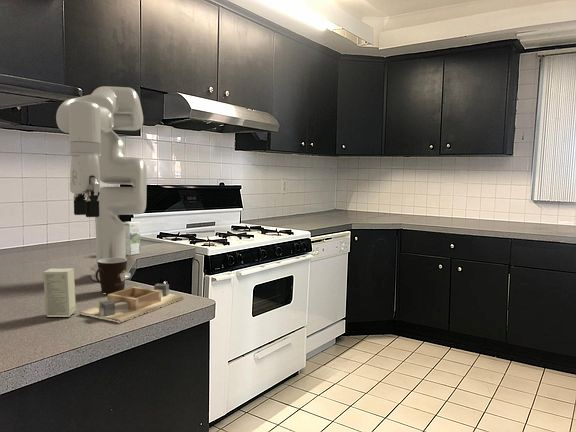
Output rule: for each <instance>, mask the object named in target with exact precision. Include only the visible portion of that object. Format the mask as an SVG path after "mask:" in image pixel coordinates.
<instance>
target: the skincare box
mask: <svg viewBox="0 0 576 432" xmlns="http://www.w3.org/2000/svg"><path fill="white" fill-rule="evenodd" d="M74 270H75V268H74V267H69V268H68V267H65V268H64V267H55V268H54V267H53V268H49V269H46V270H44V271H43V275H42V276H43V290H44V291H43V292H44V303H45V304H44V306H45V316H46V315H70V314H72V313H73V312H74V311H76V312H77V305H76V304H77V303H76V286H75V271H74Z"/></svg>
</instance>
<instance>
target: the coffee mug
mask: <svg viewBox="0 0 576 432" xmlns="http://www.w3.org/2000/svg"><path fill="white" fill-rule="evenodd" d="M97 263H98V270H97V271H96V279H97V281H96V282H98V283H99V284H100V288H101V294H102V293H106V294H111V293H114V292H118V291H121V290H124V289H125V284H126V279H125V277H126V272H127V266H128V259H127V258H126V259H125V258H105V259H100V260H98V261H97ZM98 272H99V276H100V280H99V279H98Z"/></svg>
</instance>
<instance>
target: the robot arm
mask: <svg viewBox="0 0 576 432" xmlns="http://www.w3.org/2000/svg"><path fill="white" fill-rule="evenodd" d="M55 119H56V125H57V127H58V129H59V130H61V131H62V132H64V133H65V134H66V133H67V134H69V135H68V136H69V139H68V140H69V142H68V143H69V145H68V146H69V156H71V159H70V174H69V177H70V178H69V179H70V180H69V191H70V192H71V193H72V194H73V214H74V216H85V217H86V218H94V219H95V260H96V263H94V264H92V266H89V270H91V271H94V273H93V274H92V275H91V279H92V281H95V282H98V281H97V279H96V271H97V270H98V263H97V261H98V260H100V259H105V258H125V259H127V257H126V256H127V255H126V251H125V226H124V224H123V223H122V222H123V221H122V220H121V219H120V218H119V216H121V215H122V216H123V215H124V216H125V215H129V216H131V215H133V216H134V215H141V214H144V213H145V212H146V209H147V186H148V185H147V183H148V182H147V181H148V179H147V177H148V175H147V174H148V173H147V165H146V162H145V161H144V160H143V159H142V158H141V157H135V156H133V157H129V156H126V145H125V142H124V141H123V140H122V138H121V137H120V136H119V135H118V134H117V133H116V132H115V130H116V131H117V130H118V131H139V130H140V129H142V127H143V125H144V114H143V108H142V105H141V100H140V97H139V95H138V92H137V91H136V90H135V89H134V88H132V87H128V86H127V87H126V86H125V87H124V86H105V85H102V86H99V87H97V88H95V89H94V90H93V91H92V93H90V94H87V95H83V96H79V97H73V98H69V99H66V100H64V101H62V103H61V104H60V105H59V106H58V109H57V111H56V115H55ZM101 182H102V184H105V185H106V184H107V185H108V184H109V185H131V186H101ZM131 277H132V276H131V273H130V272H128V271H126V277H125V280H128V279H130V278H131ZM98 279H99V280H100V276H99V272H98Z"/></svg>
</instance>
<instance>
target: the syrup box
mask: <svg viewBox="0 0 576 432" xmlns="http://www.w3.org/2000/svg"><path fill="white" fill-rule="evenodd" d="M122 223H123V224H124V226H125V251H126V256H129V257H130V256H137V255H140V254H141V222H140V221H136V220H131V221H122Z"/></svg>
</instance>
